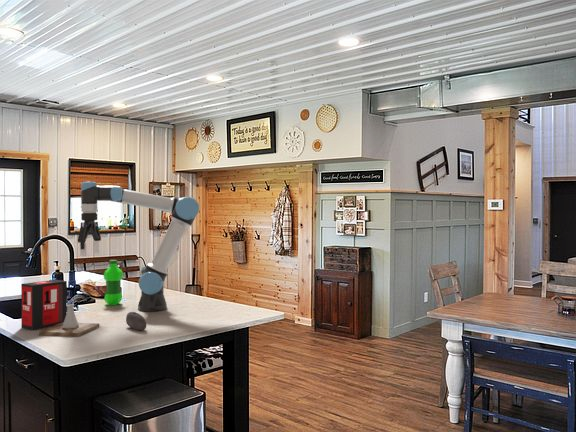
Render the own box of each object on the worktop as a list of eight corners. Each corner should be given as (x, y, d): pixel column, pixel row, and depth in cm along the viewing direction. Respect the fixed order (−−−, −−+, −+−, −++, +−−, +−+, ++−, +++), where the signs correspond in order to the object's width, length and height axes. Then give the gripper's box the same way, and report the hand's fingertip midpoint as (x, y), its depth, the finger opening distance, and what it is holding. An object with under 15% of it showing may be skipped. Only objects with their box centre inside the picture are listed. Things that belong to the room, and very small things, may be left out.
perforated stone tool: (150, 331, 222) (150, 315, 222) (139, 333, 218) (139, 317, 218) (136, 325, 233) (136, 310, 233) (125, 327, 230) (125, 312, 229)
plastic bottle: (99, 305, 282) (99, 260, 282) (112, 302, 292) (112, 259, 292) (113, 306, 279) (113, 261, 278) (126, 303, 288) (126, 259, 288)
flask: (64, 325, 225) (64, 303, 225) (81, 325, 226) (81, 303, 226) (59, 329, 218) (59, 306, 218) (76, 329, 218) (76, 306, 218)
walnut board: (99, 326, 230) (99, 323, 230) (78, 336, 212) (78, 332, 212) (62, 325, 232) (62, 322, 232) (38, 335, 214) (38, 331, 214)
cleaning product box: (55, 321, 241) (55, 279, 241) (66, 323, 236) (66, 281, 236) (21, 328, 227) (21, 283, 227) (32, 330, 222) (32, 285, 222)
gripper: (93, 212, 265) (94, 252, 266) (69, 212, 241) (70, 256, 241) (107, 212, 265) (107, 252, 265) (84, 212, 240) (85, 256, 240)
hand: (89, 254), depth 253 cm, fingers open, 13 cm apart
